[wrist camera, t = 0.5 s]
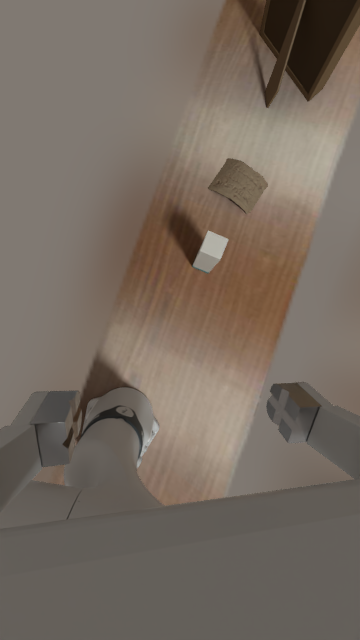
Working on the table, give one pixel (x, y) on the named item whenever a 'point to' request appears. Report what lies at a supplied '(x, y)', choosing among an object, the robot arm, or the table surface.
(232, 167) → the clay tablet
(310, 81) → the photo frame
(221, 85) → the table surface
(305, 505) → the robot arm
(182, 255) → the table surface
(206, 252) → the block
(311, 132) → the table surface
